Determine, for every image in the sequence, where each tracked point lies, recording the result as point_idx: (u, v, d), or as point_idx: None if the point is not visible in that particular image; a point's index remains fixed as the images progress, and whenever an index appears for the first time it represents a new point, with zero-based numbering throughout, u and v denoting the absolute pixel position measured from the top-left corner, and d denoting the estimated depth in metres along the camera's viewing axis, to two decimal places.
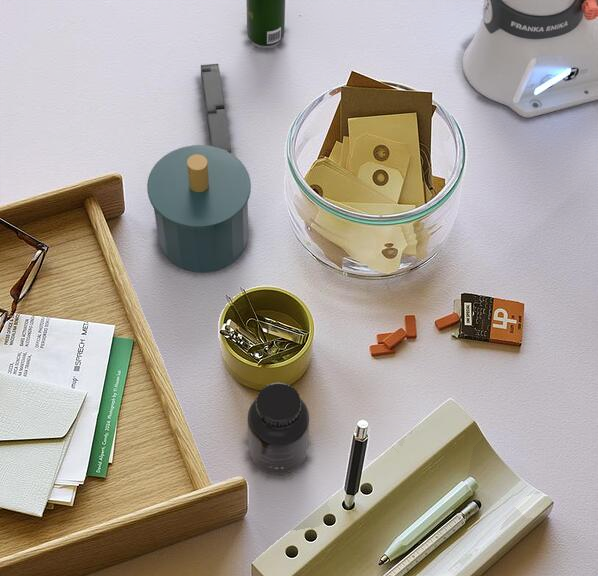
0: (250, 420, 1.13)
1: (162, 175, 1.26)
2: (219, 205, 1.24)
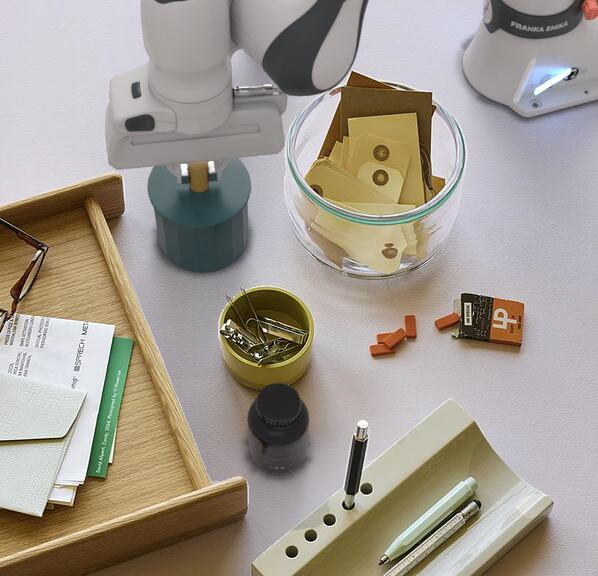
0: (250, 420, 1.13)
1: (162, 175, 1.26)
2: (219, 205, 1.24)
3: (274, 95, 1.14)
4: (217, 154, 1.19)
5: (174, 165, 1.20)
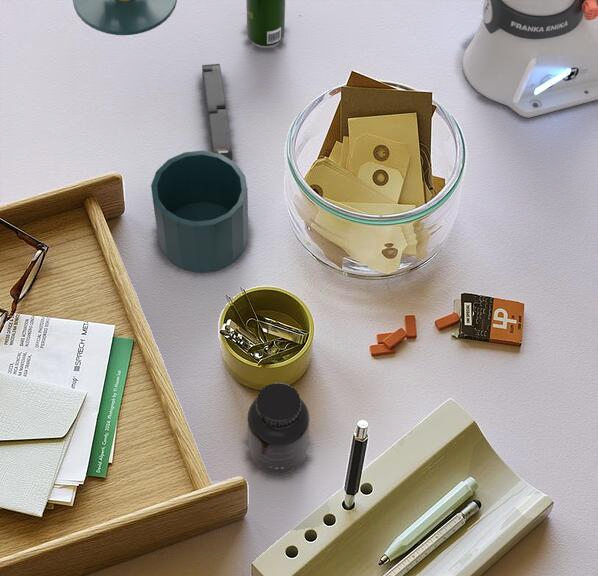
0: (250, 420, 1.13)
1: None
2: (144, 13, 1.24)
3: None
4: None
5: None
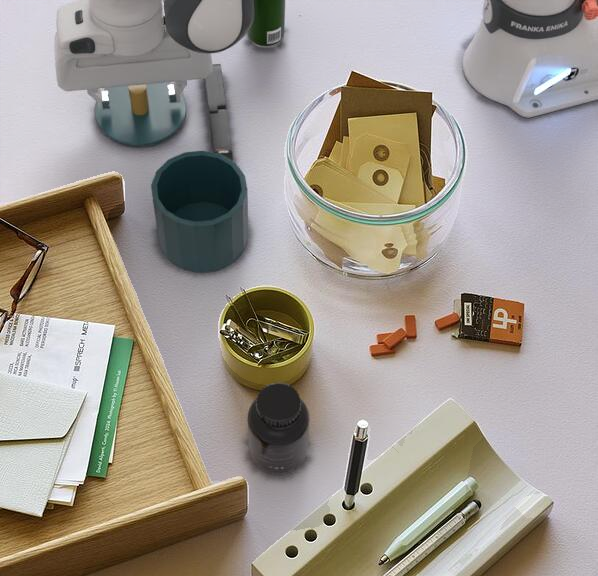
0: (250, 420, 1.13)
1: None
2: (157, 126, 1.41)
3: None
4: (153, 78, 1.35)
5: (95, 90, 1.37)
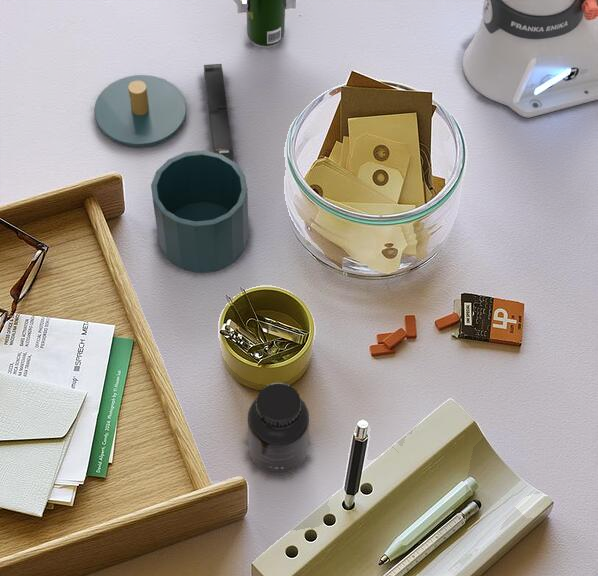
0: (250, 420, 1.13)
1: (108, 100, 1.43)
2: (157, 126, 1.41)
3: None
4: None
5: None
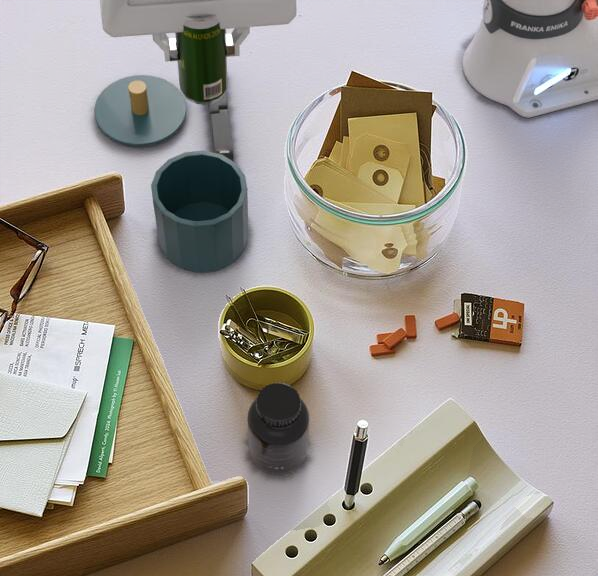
0: (250, 420, 1.13)
1: (108, 100, 1.43)
2: (157, 126, 1.41)
3: None
4: (222, 21, 1.08)
5: (162, 36, 1.10)
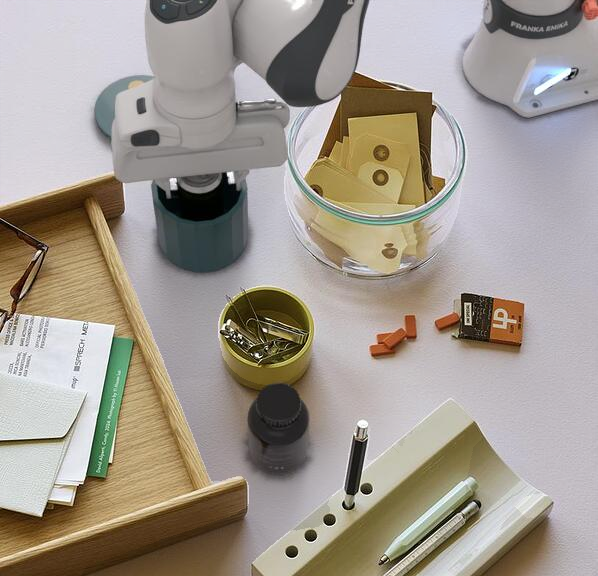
0: (250, 420, 1.13)
1: (108, 100, 1.43)
2: None
3: (277, 109, 1.16)
4: (221, 167, 1.21)
5: (163, 180, 1.22)
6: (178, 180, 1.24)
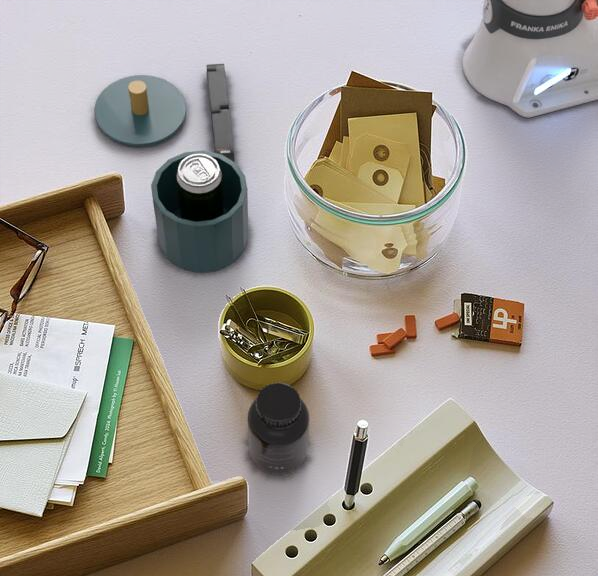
0: (250, 420, 1.13)
1: (108, 100, 1.43)
2: (157, 126, 1.41)
3: None
4: None
5: None
6: (178, 180, 1.24)
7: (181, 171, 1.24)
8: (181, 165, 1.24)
